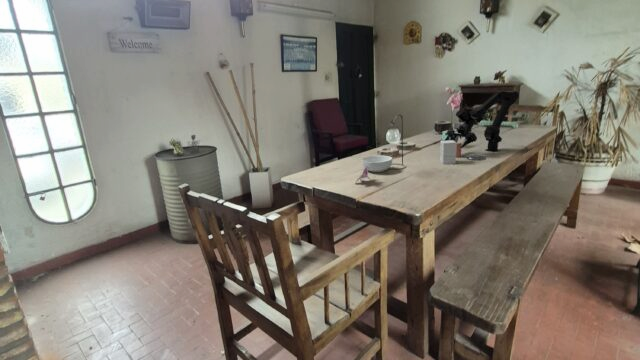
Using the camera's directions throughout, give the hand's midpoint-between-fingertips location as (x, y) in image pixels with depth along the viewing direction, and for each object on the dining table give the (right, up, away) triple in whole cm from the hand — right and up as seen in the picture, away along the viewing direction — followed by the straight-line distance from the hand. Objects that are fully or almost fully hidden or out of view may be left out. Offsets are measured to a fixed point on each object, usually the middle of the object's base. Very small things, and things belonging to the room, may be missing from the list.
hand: (454, 146), depth 209 cm
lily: (-61, -22, -37) cm, 74 cm away
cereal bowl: (-51, -16, -17) cm, 56 cm away
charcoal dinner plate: (+11, -8, -5) cm, 14 cm away
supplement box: (-8, -11, -9) cm, 16 cm away
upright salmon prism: (+2, -6, +3) cm, 7 cm away
